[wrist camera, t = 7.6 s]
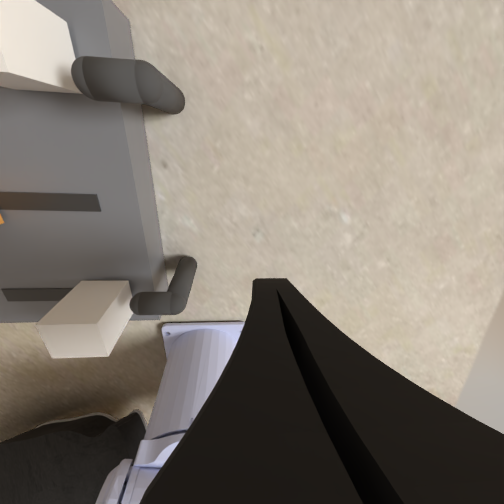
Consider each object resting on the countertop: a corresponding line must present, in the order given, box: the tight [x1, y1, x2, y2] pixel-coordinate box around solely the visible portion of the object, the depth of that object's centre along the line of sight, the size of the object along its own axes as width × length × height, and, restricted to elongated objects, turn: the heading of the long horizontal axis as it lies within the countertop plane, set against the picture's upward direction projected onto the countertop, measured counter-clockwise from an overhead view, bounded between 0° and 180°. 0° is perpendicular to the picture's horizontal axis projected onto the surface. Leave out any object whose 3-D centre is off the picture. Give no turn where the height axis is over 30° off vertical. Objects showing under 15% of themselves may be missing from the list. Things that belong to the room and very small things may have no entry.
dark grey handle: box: [71, 56, 197, 315], centre depth 13 cm, size 12×3×6 cm, turn 177°
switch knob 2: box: [35, 281, 133, 358], centre depth 14 cm, size 2×3×4 cm
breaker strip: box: [0, 0, 168, 323], centre depth 14 cm, size 18×12×3 cm, turn 177°
